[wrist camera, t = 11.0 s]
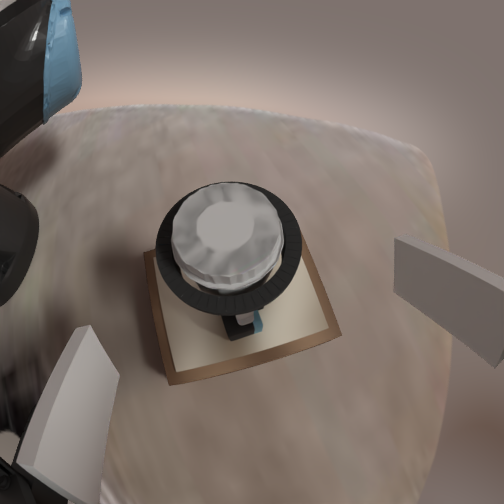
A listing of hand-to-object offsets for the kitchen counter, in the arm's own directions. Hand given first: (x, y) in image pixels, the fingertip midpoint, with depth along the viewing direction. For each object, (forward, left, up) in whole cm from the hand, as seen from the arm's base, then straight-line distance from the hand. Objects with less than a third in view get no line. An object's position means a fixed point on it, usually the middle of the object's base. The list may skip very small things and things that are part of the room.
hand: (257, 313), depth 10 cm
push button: (0, +3, -8) cm, 8 cm away
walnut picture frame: (0, +3, -11) cm, 11 cm away
